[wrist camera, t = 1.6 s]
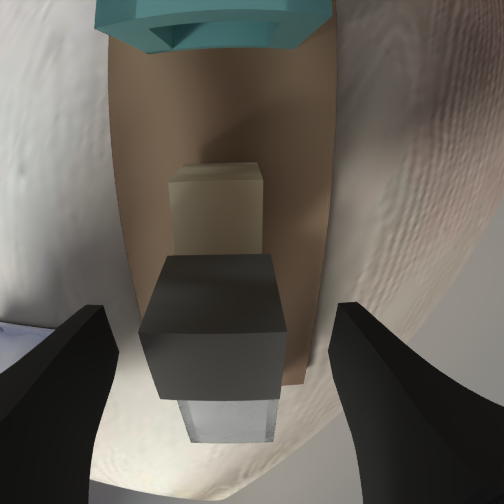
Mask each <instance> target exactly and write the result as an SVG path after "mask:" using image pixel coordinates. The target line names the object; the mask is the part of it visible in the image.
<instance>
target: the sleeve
mask: <svg viewBox="0 0 504 504" xmlns="http://www.w3.org/2000/svg"><path fill="white" fill-rule="evenodd" d="M177 402H178V405H179V408H180V411H181V414H182V417H183V420H184V423H185V426H186V429H187V432H188V435H189V438H190V441H191V443H260V442H273V440H274V433H275V426H276V418H277V410H278V402H279V399H274V400H253V401H188V400H177Z"/></svg>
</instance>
